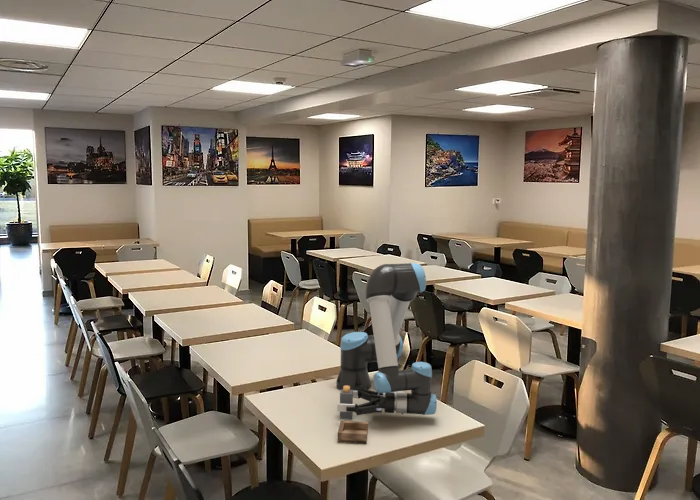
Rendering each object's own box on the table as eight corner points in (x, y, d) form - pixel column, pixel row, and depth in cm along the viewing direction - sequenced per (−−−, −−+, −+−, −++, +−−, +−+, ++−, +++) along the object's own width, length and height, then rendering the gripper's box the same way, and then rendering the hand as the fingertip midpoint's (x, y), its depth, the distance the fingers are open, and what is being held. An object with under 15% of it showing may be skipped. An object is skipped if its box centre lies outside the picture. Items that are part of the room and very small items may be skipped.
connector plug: (352, 414, 219) (353, 384, 218) (351, 419, 215) (352, 389, 213) (341, 414, 220) (341, 384, 218) (339, 418, 215) (340, 388, 214)
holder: (368, 431, 205) (368, 422, 205) (366, 443, 195) (366, 434, 195) (340, 429, 206) (340, 420, 205) (337, 442, 196) (337, 432, 196)
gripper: (394, 426, 203) (335, 423, 205) (395, 399, 228) (342, 397, 229) (395, 406, 202) (335, 403, 204) (395, 381, 227) (342, 379, 229)
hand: (339, 400), depth 217 cm, fingers open, 13 cm apart
